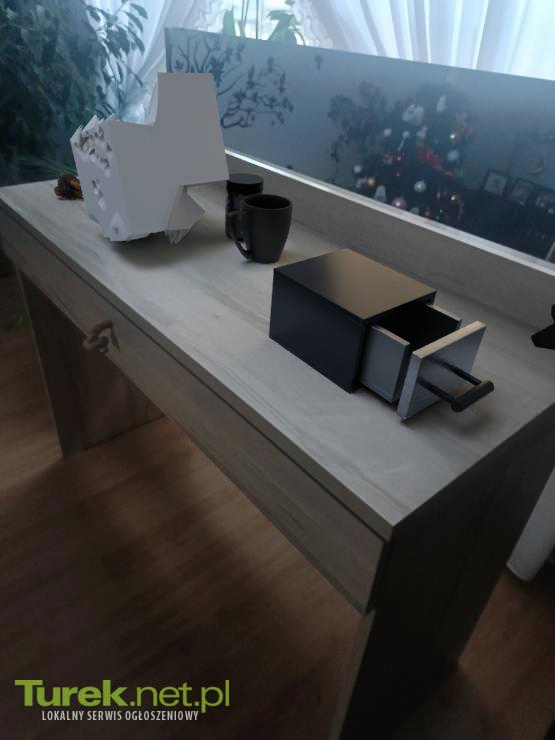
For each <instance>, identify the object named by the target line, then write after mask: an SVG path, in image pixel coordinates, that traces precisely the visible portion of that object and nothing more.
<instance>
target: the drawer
mask: <svg viewBox="0 0 555 740" xmlns="http://www.w3.org/2000/svg"><path fill="white" fill-rule="evenodd" d="M462 322H463V318H462V317H460V316H458V315H456V314H453V313H452V312H450V311H448V310H446V309H444V308H442V307H440V306H438V305H435V304H431V303H429V302H427V301H423V302H421V303H418V304H416V305H413V306H411V307H408V308H406V309H403V310H401V311H398V312H396V313H394V314H391V315H389V316H386V317H384V318H381V319H379V320H376V321H374V322H371V323H369V324H367V328H366V333H365V339H364V344H363V349H362V354H361V359H360V364H359V369H358V374H357V379H356V380H358V381H359V382H361V383H362V384H364V385H365V386H364V387H367V388H369V390H371V391H372V392H375V393H376V394H377V395H379V396H380V397H381V398H383V399H384V400H386V401H387V402H389V403H391V404H392V403H394V402H396V401H397V400H399V401H398V405H397V409H396V413H395V414H396V416H398V417H400V418H401V419H403V420H404V421H406V420H407V419H409V418H411V417H412V416H414V415H416V414H418V413H419V412H421V411H422V410H424V409H426V408H428V407H430V406H431V405H432V404H434V403H436V402H437V401H439V400H443V401H444V402H446V403H447V404H449V407H450V409H451V410H452V411H453V412H454V413H457V414H459V413H461V412H463V411H465V410H466V409H468V408H470V407H471V406H473V405H475V404H476V403H477V402H479V401H480V400H482V399H484V398H485V397H487V396H488V395H489V394H492V393H493V392H494V391H495V384H494V382H493V381H491V380H488V379H485V380H483V381H482V380H481V379H480V378H477V377H476V376H474V375H472V374H471V372H472V369H473V366H474V364H475V360H476V358H477V354H478V352H479V349H480V346H481V343H482V341H483V337H484V335H485V332H486V329H487V326H488V325H487V324H485V323H483V322H481V321H479V320H476V321H474V322H472V323H470V324H468V325H466V326H464V327H462V328H461V326H462ZM467 383H469V384H470V385H473V387H472V388H470V389H468V390H467V391H464V393H462V394H460V395H459V396H457V397H455V396H453V395H451V393H453V392H455V391H456V390H458V389H460V388H461V387H463V386H465V385H466V384H467Z"/></svg>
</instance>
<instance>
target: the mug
mask: <svg viewBox="0 0 555 740" xmlns="http://www.w3.org/2000/svg"><path fill="white" fill-rule="evenodd" d="M293 204H294V203H293V202H292V200H291V199H289V198H287V197H284V196H282V195H277V194H271V193H270V194H269V193H263V194H254V195H248V196H246V197H244V198H243V199H242V208H241V211H232V212H229V213H227V214H226V217H225V216H224V225H225V224H226V228H227V230H228V232H229V234H230V236H231V238H232V239H233V240H232V239H231V240H232V241H233V243H234V245H235V247H236V249H237V250H238V251H239V253H240V254H241V255H242V257H243V258H244V259H246V260H250V261H252V262H255V263H258V264H273V263H277V262H278V261H280V259H281V258H282V257H281V256H282V254H283V250H284V248H285V246H286V244H287V240H288V237H289V234H290V229H291V224H292V218H293V217H292V215H293V206H294V205H293ZM240 214H241V222H242V231H243V237H244V242H243V243H244V246H245V248H244V247H243V246H242V244H241V242H239V241H238V239H237V237H236V235H235V233H234V230H233V227H232V219H233V217H234V216H235V215H240Z"/></svg>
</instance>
